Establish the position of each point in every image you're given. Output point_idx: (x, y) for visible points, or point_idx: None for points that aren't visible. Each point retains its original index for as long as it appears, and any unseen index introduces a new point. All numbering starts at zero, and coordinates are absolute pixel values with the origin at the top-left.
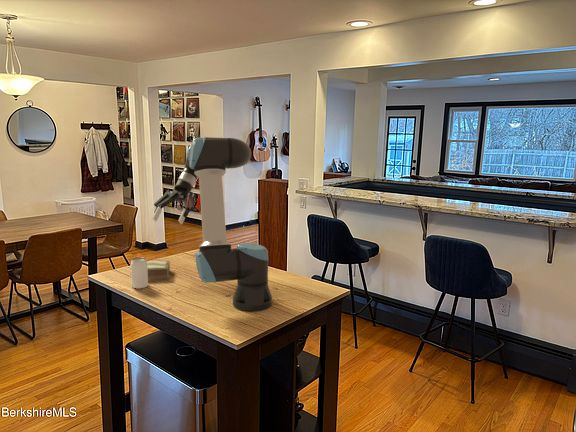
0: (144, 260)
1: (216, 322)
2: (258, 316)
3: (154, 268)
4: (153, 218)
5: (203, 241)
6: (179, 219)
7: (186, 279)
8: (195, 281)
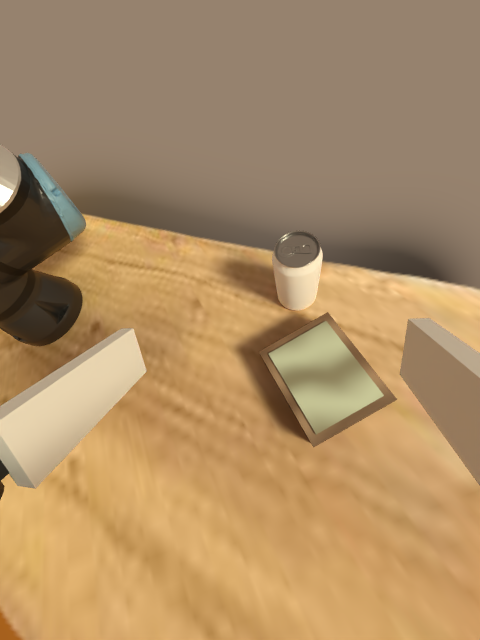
0: (274, 252)
1: (96, 237)
2: None
3: (296, 338)
4: (412, 324)
5: None
6: (118, 334)
7: (216, 383)
8: (187, 378)
